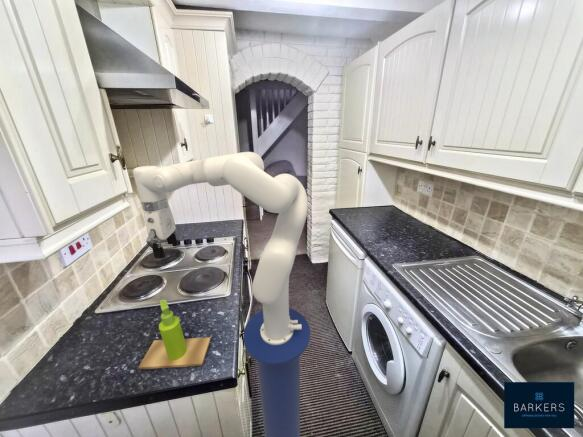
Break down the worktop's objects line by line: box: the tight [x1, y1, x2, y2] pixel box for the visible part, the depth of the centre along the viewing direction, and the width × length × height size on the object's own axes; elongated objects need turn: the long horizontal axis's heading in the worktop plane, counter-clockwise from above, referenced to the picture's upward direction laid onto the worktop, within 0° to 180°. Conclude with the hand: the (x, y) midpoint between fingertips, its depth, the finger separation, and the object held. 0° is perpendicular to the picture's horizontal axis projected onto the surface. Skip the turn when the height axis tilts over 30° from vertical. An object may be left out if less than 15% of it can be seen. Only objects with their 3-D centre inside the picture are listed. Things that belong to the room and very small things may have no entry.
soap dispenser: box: [158, 298, 187, 360], centre depth 74 cm, size 6×7×20 cm
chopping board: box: [138, 336, 212, 370], centre depth 78 cm, size 20×10×1 cm, turn 93°
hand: (166, 250), depth 81 cm, fingers open, 9 cm apart
